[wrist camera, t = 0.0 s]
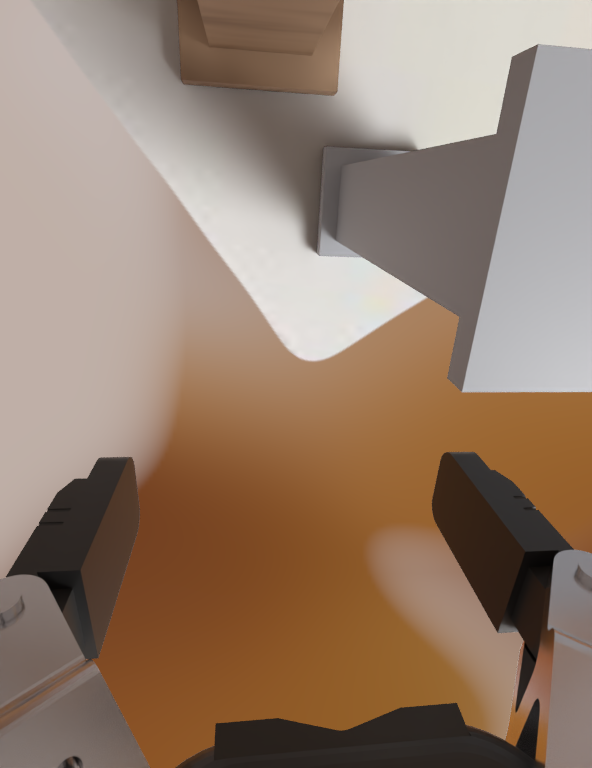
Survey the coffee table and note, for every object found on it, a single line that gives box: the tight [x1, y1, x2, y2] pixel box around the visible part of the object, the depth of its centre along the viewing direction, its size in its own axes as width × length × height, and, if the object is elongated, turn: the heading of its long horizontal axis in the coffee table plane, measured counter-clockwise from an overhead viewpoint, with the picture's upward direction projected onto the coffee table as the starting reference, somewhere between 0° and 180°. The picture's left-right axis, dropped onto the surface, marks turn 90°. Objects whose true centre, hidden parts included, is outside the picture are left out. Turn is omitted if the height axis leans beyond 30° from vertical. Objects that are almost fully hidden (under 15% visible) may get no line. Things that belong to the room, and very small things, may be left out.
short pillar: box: [317, 44, 592, 392], centre depth 24 cm, size 8×8×28 cm
